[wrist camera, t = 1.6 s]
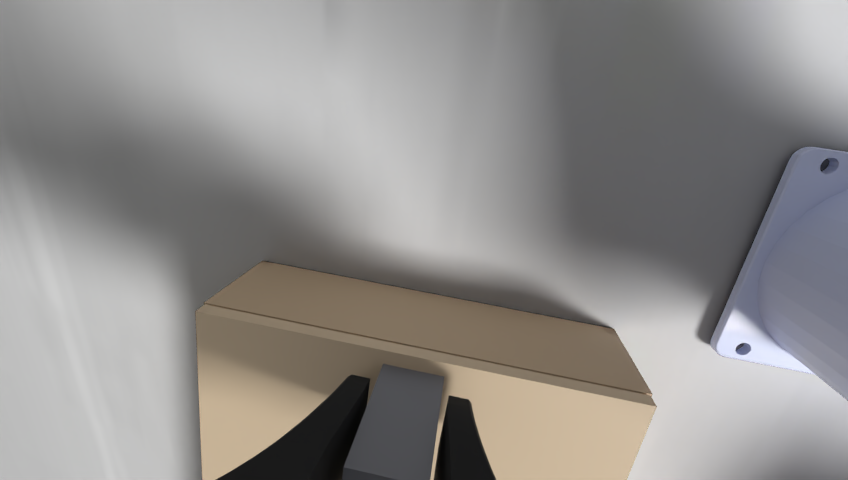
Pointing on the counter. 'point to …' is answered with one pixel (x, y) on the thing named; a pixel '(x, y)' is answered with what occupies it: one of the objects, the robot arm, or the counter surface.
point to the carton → (435, 324)
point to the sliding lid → (402, 404)
